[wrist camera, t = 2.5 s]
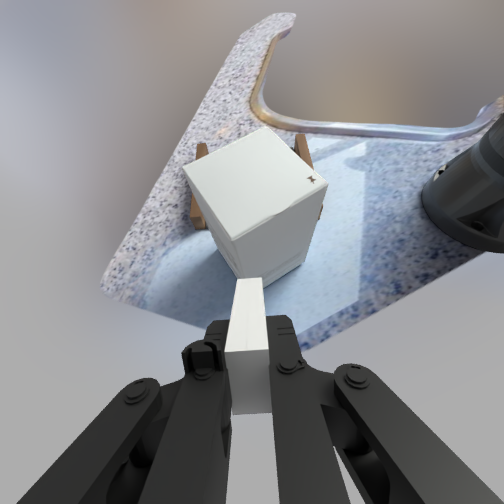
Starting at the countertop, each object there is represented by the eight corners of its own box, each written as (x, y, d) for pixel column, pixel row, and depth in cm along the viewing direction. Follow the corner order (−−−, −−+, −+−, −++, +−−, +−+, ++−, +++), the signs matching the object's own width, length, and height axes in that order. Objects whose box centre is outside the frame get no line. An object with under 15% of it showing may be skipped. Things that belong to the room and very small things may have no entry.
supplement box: (268, 216, 35) (267, 120, 21) (306, 262, 31) (334, 182, 18) (215, 246, 33) (177, 164, 20) (248, 298, 29) (230, 241, 16)
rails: (302, 149, 42) (304, 133, 40) (319, 219, 34) (323, 206, 32) (201, 158, 43) (197, 143, 40) (195, 229, 35) (189, 217, 33)
